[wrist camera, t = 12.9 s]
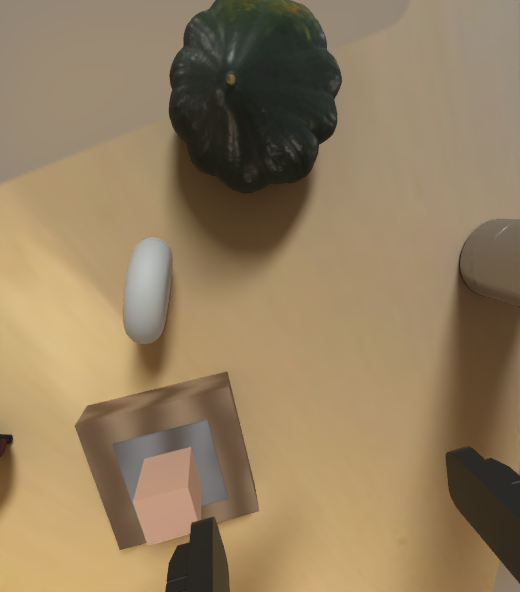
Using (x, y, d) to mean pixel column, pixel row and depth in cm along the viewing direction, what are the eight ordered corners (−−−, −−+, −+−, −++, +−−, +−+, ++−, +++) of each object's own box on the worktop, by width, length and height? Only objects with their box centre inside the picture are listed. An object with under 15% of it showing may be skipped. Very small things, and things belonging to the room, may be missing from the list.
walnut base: (227, 371, 43) (229, 388, 38) (254, 486, 46) (259, 513, 42) (87, 405, 41) (73, 427, 37) (127, 521, 45) (119, 552, 41)
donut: (168, 327, 41) (156, 363, 31) (136, 324, 40) (113, 359, 30) (178, 236, 39) (168, 244, 29) (144, 231, 38) (122, 238, 28)
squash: (384, 48, 32) (310, -95, 20) (335, 217, 36) (244, 187, 23) (255, 50, 39) (141, -54, 27) (224, 191, 43) (108, 156, 30)
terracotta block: (190, 446, 39) (187, 487, 33) (202, 485, 40) (200, 530, 35) (144, 458, 39) (132, 502, 33) (156, 497, 40) (147, 545, 34)
